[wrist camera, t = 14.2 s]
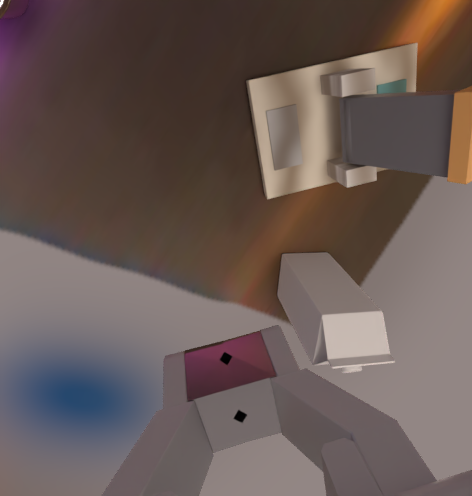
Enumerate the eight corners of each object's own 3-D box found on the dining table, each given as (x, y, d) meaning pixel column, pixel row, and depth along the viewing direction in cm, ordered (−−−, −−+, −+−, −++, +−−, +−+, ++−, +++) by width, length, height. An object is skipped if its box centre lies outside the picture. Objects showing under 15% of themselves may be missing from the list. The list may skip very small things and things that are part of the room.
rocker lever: (340, 164, 42) (465, 184, 31) (336, 97, 38) (475, 91, 27) (355, 158, 43) (482, 174, 32) (353, 92, 39) (494, 84, 28)
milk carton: (281, 253, 51) (338, 339, 35) (327, 251, 53) (404, 334, 36) (276, 295, 55) (326, 393, 38) (320, 292, 56) (387, 386, 39)
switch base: (264, 195, 47) (279, 213, 41) (245, 80, 41) (260, 81, 35) (406, 160, 49) (441, 172, 42) (409, 43, 42) (451, 38, 36)
